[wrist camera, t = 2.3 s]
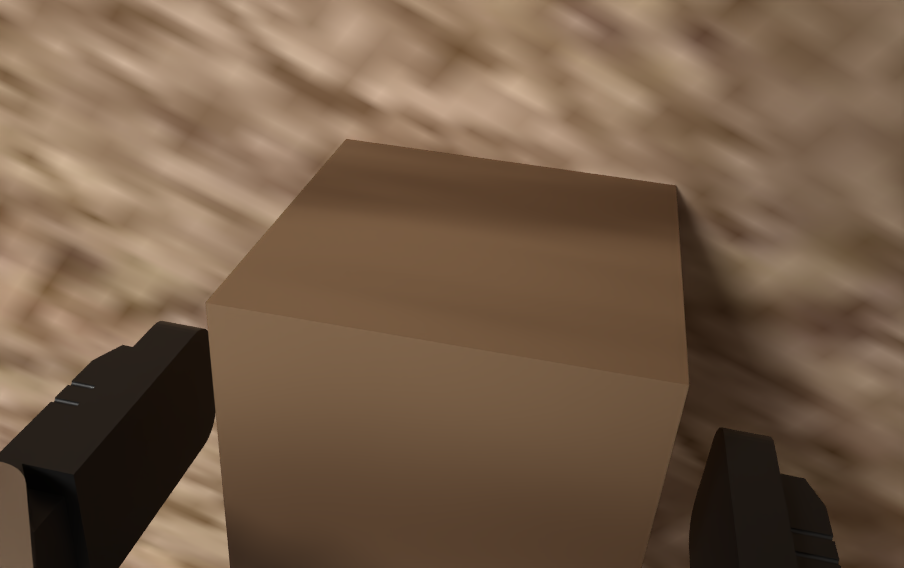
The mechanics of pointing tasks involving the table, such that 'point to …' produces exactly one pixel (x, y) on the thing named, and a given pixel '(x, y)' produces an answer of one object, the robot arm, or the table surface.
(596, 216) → the walnut block
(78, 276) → the table surface
